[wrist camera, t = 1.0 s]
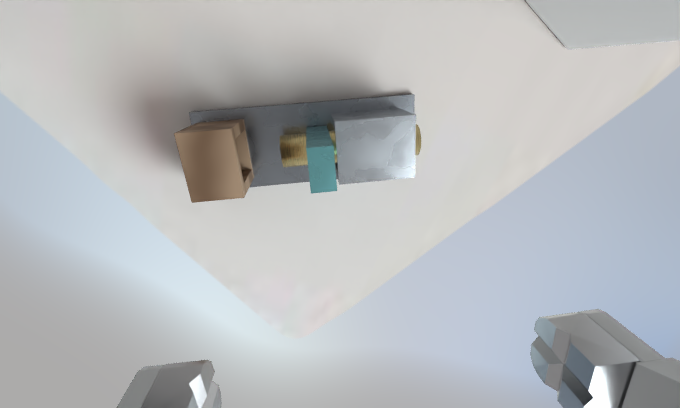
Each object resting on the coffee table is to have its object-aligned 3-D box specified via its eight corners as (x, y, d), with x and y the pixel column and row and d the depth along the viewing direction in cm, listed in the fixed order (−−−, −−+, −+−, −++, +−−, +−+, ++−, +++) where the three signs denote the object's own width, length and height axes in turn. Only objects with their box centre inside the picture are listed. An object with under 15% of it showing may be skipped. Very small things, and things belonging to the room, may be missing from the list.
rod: (410, 118, 33) (447, 135, 24) (410, 152, 35) (444, 180, 26) (281, 129, 32) (271, 151, 24) (285, 163, 34) (278, 196, 25)
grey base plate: (412, 94, 33) (433, 98, 28) (411, 170, 36) (430, 187, 31) (190, 112, 32) (166, 120, 27) (209, 189, 35) (190, 211, 30)
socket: (244, 118, 33) (230, 128, 27) (254, 175, 35) (243, 197, 29) (198, 122, 32) (173, 133, 26) (211, 179, 35) (191, 202, 29)
